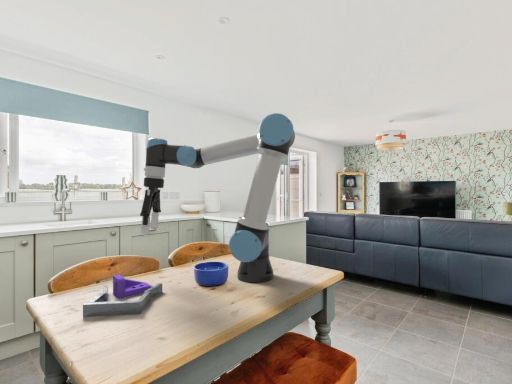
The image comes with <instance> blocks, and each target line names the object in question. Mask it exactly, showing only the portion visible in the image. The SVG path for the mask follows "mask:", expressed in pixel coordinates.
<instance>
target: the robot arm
mask: <svg viewBox="0 0 512 384" xmlns="http://www.w3.org/2000/svg"><path fill="white" fill-rule="evenodd" d="M295 139H296V134H295V130H294V124H293V123H292V121H291V120H290V119H289V117H288V116H286V115H285V114H283V113H275V112H274V113H270V114H267V115H266V116H265V117H264V118H263V119H262V120H261V122H260V123H259V126H258V133H257V134H256V135H251V136H247V137H241V138H239V139H234V140H229V141H225V142H221V143H217V144H213V145H209V146H204V147H200V148H196V149H195V147H193V146H189V145H178V144H177V145H175V144H168V141H167V140H166V139H163V138H157V137H150V138H149V139H148V140H147V143H146V144H147V145H146V149H145V150H146V151H145V152H146V155H145V156H146V157H145V167H144V168H143V171H144V176H145V177H144V178H143V187H144V188H148V189H145V191H144V192H145V193H144V196H143V201H142V202H143V203H142V207H141V211H140V213H139V216H140V217H141V227H140V228H141V230H140V231H141V232H140V233H141V234H148V235H149V234H150V228H151V229H158V226H159V218H160V217H159V215H160V213H161V212H162V210H161V189H164V186H165V184H164V183H165V179H164V178H165V176H166V175H165V174H166V164H167V165H179V166H182V167H189V168H191V169H200V168H202V167H203V166H207V165H211V164H215V163H221V162H225V161H230V160H235V159H239V158H243V157H248V156H252V155H253V156H254V155H257V154H258V158H257V162H256V165H255V170H254V172H253V173H254V174H253V177H252V181H251V185H250V189H249V193H248V196H247V200H246V203H245V207H244V211H243V216H242V217H241V218H238V220H237V222H236V224H235V225H236V226H235V228H234V229H235V230H234V233H233V234H232V235H231V236H230V238H229V240H228V249H229V252H230V254H231V255H232V256H233V258H234V259H236V260H237V261H239V262H240V263H239V266H238V269H237V272H236V273H237V279H238V280H239V281H242V282H245V283H264V282H265V283H266V282H269V281H272V279H274V275H275V274H274V269H273V266H272V264H271V261H270V227H269V225H270V224H269V223H267V222H266V221H267V217H268V215H269V210H270V207H271V203H272V199H273V195H274V191H275V189H276V188H275V187H276V184H277V181H278V177H279V173H280V170H281V165H282V162H283V160H284V159H286V158H287V157H288V155H289V151H290V148H292V146H293V144H294V142H295Z"/></svg>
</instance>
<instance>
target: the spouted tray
mask: <svg viewBox="0 0 512 384" xmlns="http://www.w3.org/2000/svg"><path fill="white" fill-rule="evenodd" d="M108 285H109V284H108ZM108 285H104V286H103V290H102V293H98V294H97V295H96V296H94V298H92V299H91V300H89V301H88V302H84V304H82V317H83V318H87V317H89V318H90V317H104V316H105V317H108V316H109V317H110V316H130V315H131V316H132V315H141V313H142V312H143V311H144V310H145V308H146V307H147V305H148V304H149V303H150V302H151V299H152V298H154V297H156V296H158V295H159V294H161V293H163V283H160V282H159V283H157V284H156V285H152V286H153V287H151V288H149V289H148V290H146V291H144V293H142V294H141V296H140V298H138V300H118V301H114V300H113V301H108V297H109V295H108V294H109V286H108Z"/></svg>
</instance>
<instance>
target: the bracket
mask: <svg viewBox="0 0 512 384" xmlns="http://www.w3.org/2000/svg"><path fill="white" fill-rule="evenodd" d="M153 286H154V285H151V284H150V283H148V282H145V281H139V280H133V279H128V278H125V277H124V276H122V275H121V274H115V275H114V274H113V275H112V290H113V291H112V295H114V296H115V297H116V298H117V300H121V299H125V297H126V298H129V297H133V296H137V295H143V294H144V291H146V290H148V289H149V288H151V287H153Z"/></svg>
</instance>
